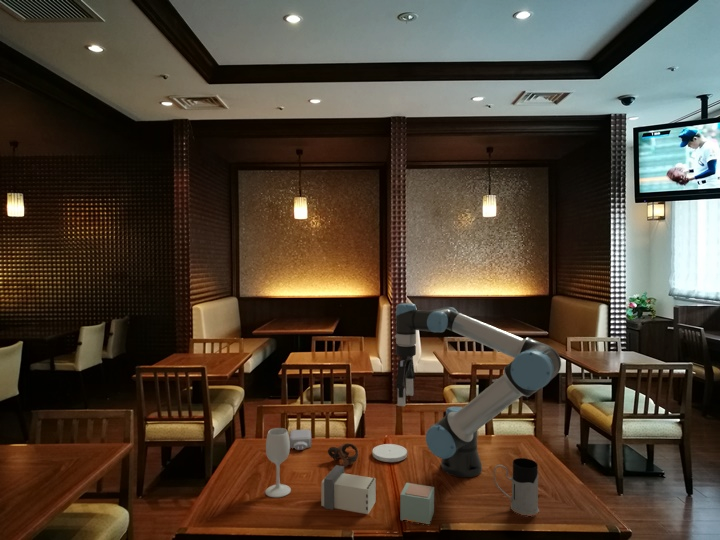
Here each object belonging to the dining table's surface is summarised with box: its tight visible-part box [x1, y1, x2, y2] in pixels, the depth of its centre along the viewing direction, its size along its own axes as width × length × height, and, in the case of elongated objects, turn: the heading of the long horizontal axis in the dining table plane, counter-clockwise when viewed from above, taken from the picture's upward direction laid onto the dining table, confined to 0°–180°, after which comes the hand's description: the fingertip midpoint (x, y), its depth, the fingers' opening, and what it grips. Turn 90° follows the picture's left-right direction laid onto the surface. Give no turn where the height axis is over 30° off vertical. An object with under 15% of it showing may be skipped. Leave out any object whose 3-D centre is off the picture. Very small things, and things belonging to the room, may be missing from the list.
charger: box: [289, 429, 312, 451], centre depth 201 cm, size 5×9×15 cm
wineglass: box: [264, 427, 292, 498], centre depth 163 cm, size 9×9×21 cm
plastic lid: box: [372, 443, 408, 463], centre depth 191 cm, size 14×14×2 cm
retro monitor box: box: [399, 482, 435, 525], centre depth 147 cm, size 9×8×8 cm
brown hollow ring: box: [327, 442, 359, 468], centre depth 186 cm, size 12×10×8 cm
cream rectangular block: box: [320, 464, 377, 515], centre depth 155 cm, size 16×10×10 cm, turn 71°
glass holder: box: [493, 457, 540, 515], centre depth 152 cm, size 9×14×15 cm, turn 81°
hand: (405, 400), depth 178 cm, fingers open, 13 cm apart
